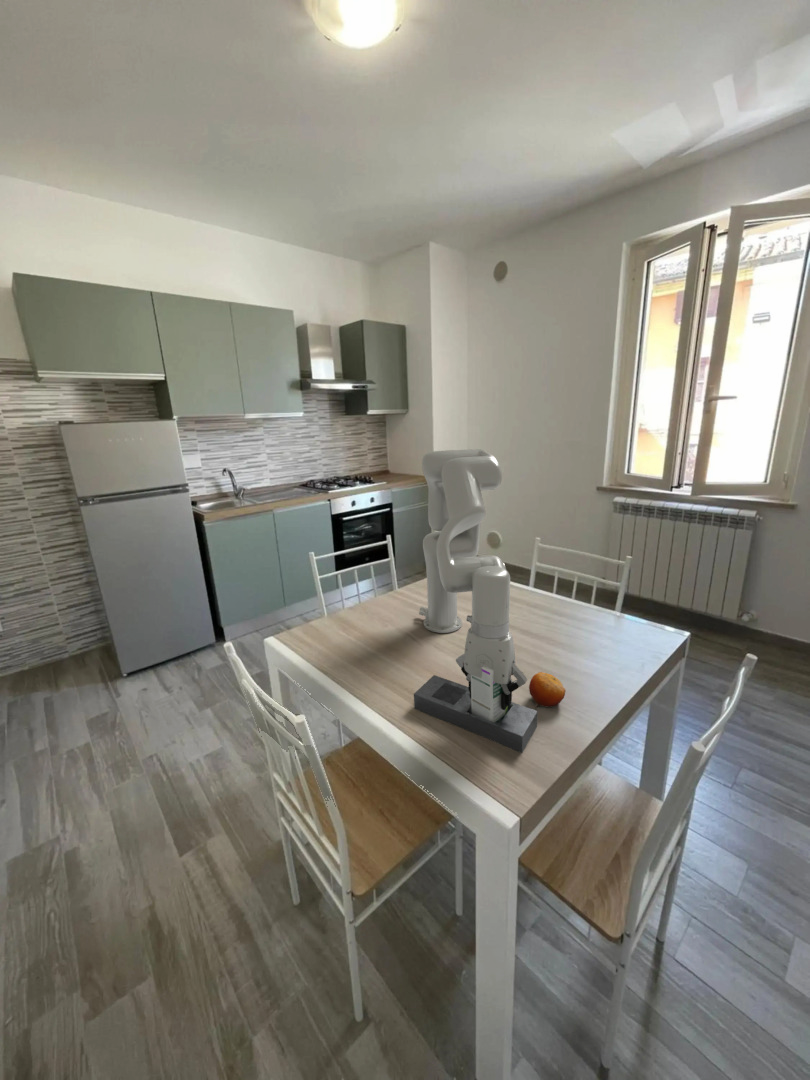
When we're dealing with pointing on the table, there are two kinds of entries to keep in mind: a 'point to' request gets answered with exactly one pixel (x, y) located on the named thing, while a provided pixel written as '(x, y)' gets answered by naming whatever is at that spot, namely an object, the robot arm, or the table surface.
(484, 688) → the syrup box
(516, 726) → the grey slotted holder
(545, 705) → the fruit
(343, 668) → the table surface
